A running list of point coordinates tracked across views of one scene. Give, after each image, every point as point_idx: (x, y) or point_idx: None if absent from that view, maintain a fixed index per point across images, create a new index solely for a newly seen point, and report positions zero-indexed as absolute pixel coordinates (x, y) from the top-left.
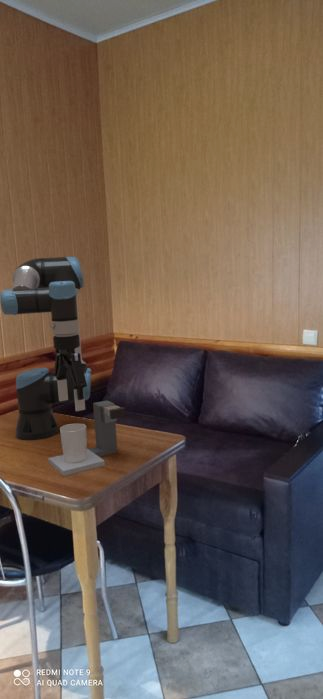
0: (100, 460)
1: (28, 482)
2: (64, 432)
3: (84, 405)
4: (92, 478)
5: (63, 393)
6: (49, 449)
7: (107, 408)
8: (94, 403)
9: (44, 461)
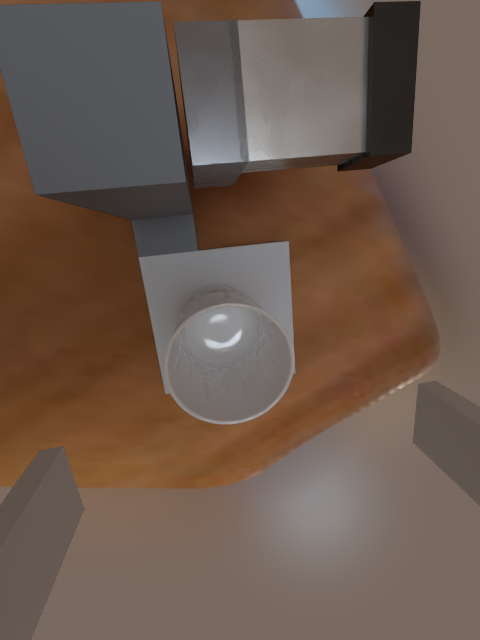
0: (278, 253)
1: (278, 445)
2: (264, 408)
3: (464, 401)
4: (350, 303)
5: (42, 546)
6: (31, 365)
7: (295, 146)
8: (57, 187)
9: (147, 395)
